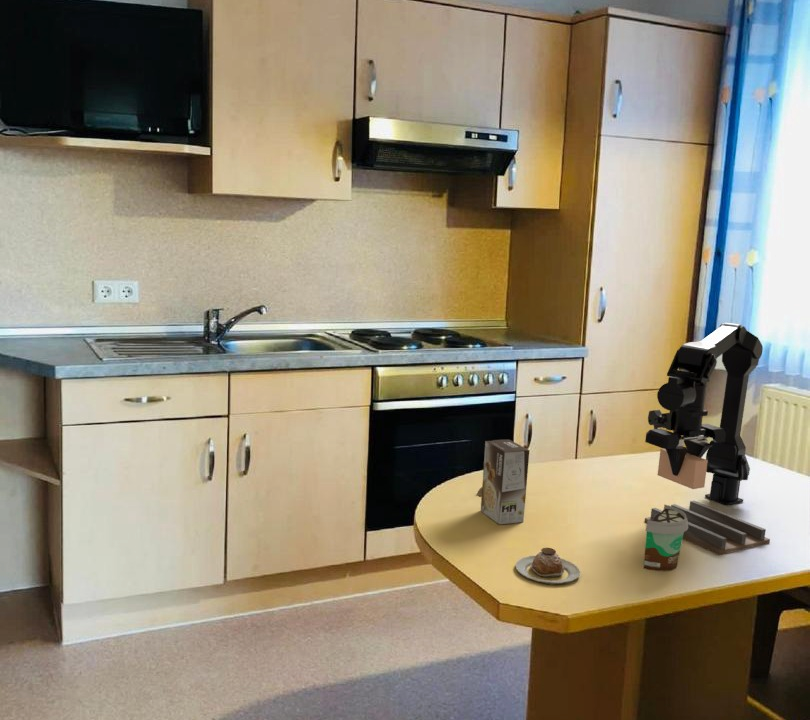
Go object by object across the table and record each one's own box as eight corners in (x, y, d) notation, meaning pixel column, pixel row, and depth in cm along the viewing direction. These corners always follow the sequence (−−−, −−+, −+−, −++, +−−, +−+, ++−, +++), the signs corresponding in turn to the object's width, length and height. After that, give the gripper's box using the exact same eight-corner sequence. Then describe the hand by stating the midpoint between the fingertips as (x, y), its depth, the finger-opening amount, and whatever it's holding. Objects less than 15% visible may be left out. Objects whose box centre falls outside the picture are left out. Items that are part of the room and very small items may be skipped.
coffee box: (525, 522, 189) (531, 450, 186) (498, 525, 186) (504, 452, 183) (503, 508, 197) (509, 438, 194) (478, 510, 194) (484, 440, 192)
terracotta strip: (668, 473, 196) (671, 447, 195) (704, 487, 187) (707, 460, 186) (657, 475, 194) (660, 448, 193) (692, 489, 186) (696, 461, 184)
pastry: (572, 562, 170) (574, 539, 169) (586, 589, 158) (588, 565, 157) (510, 559, 170) (512, 536, 169) (520, 586, 158) (522, 562, 157)
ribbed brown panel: (694, 511, 202) (695, 499, 201) (769, 542, 185) (771, 529, 185) (644, 521, 194) (646, 508, 193) (718, 554, 177) (720, 540, 176)
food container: (673, 579, 164) (679, 528, 162) (641, 570, 167) (646, 520, 165) (690, 559, 174) (696, 510, 172) (659, 551, 177) (665, 503, 175)
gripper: (691, 393, 199) (683, 459, 202) (630, 398, 190) (623, 467, 192) (731, 404, 190) (722, 474, 192) (669, 410, 180) (661, 483, 183)
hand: (681, 474), depth 190 cm, fingers closed on terracotta strip, 3 cm apart
